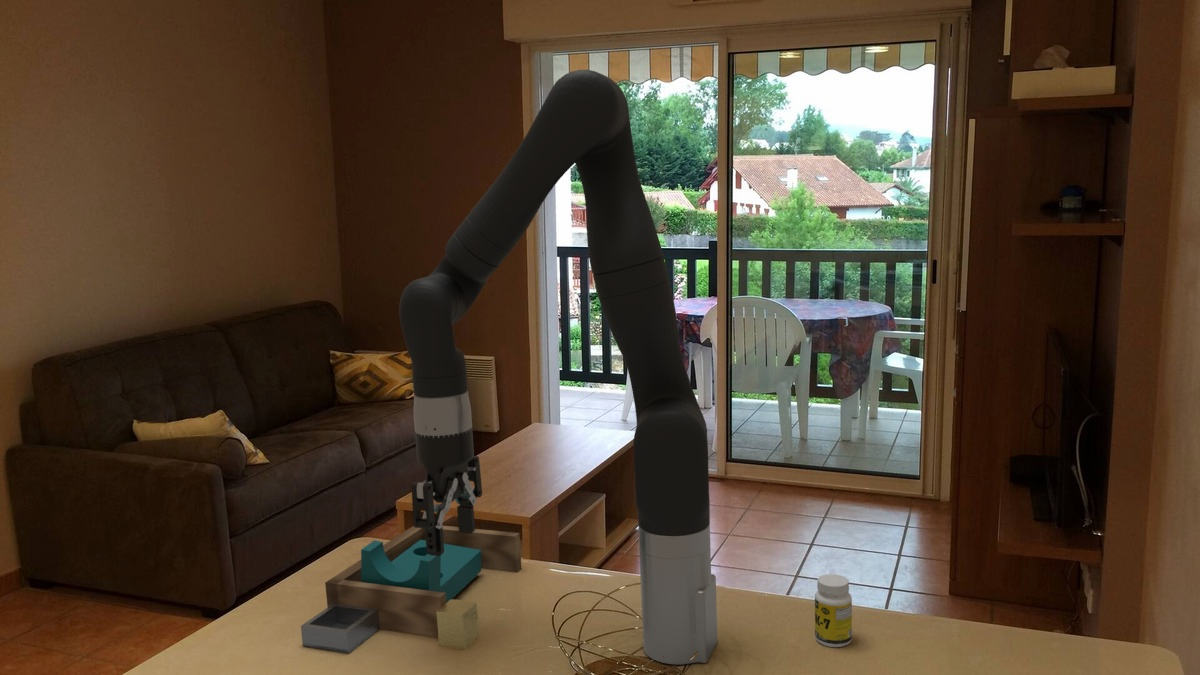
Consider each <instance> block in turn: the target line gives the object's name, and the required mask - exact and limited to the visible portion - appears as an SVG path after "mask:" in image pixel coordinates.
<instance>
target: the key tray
mask: <svg viewBox="0 0 1200 675" xmlns="http://www.w3.org/2000/svg"><path fill="white" fill-rule="evenodd" d="M300 630H301V632H300V633H301V642H302V647H304V648H310V649H317V650H322V651H329V652H330V651H331V652H336V653H343V654H350V653H351V652H353V651H354V650H355V649H356V648H358V647H359V646H360V645H362V643H364V642H366V641H367V640H368V639H370V637H372V636H373V635H374V634H376V633H377V632H378V631H380V630H381V629H380V622H379V610H378V609H374V608H367V607H359V606H352V605H345V604H337V603H334V604H332V605H331V606H329V607H326V608H325V609H323V610H322V611H320V612H319V613H318V614H316V615H314V616H313V617H311V618H310V619H309V620H307V621H305V622H304V623H303V624H301V625H300Z"/></svg>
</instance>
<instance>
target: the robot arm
mask: <svg viewBox="0 0 1200 675" xmlns="http://www.w3.org/2000/svg"><path fill="white" fill-rule="evenodd" d="M630 118H631V117H630V111H629V104H628V101H627V97H626V95H625V93H624V92H623V90H622V88H621V87H620V86H619V84H617V82H615V80H613V79H612V78H610V77H609V76H607V75H605V74H603V73H600V72H598V71H595V70H590V69H577V70H572V71H569V72H568V73H566V74H564V75H563V76H561V77H559V79H558V80H557V81H556V82H554V84H553V85H552V87H551V89H550V91H549V92H548V94H547V96H546V98H545V100H544V102H543V104H542V105H541V107H540V109H539V111H538V113H537V114H536V117H535V118H534V120H533V122H532V124H531V126H530V127H529V129H528V131H527V133H526V135H525V136H524V138H523V139H522V141H521V143H520V145H519V146H518V147H517V149H516V151H515V152H514V154H513V156H512V157H511V159H510V160H509V162H508V163H507V164H506V165H505V167H504V169H503V170H502V171H501V172H500V173H499V175H498V177H497V178H496V179H495V180H494V181H493V182H492V184H491V186H489V188H488V189H487V191H486V192H485V193H484V194H483V195H482V197H481V198H480V199H479V201H477V203H476V204H475V205H474V207H473V208H472V209H471V210H470V211H469V213H468V214H467V216H466V217H465V218H464V220H463V221H462V222H461V223H460V225H458V227H457V228H456V230H455V231H454V232H453V233H452V235H451V236H450V238H449V239H448V241H447V244H446V245H445V248H444V251H445V255H444V256H443V258H442V259H441V260H440V262H439V263H438V265H436V267H435V268H434V270H433V271H432V272H431V273H430V274H429V275H428V276H424V277H421V278H420V277H419V278H417V279H414V280H413V281H411V282H409V283H408V285H406V286H405V288H404V289H403V290H402V293H401V296H400V300H399V308H398V315H399V316H398V317H399V324H400V326H401V327H400V328H401V331H402V335H403V338H404V342H405V347H406V350H407V352H408V355H409V357H410V361H411V369H412V370H411V371H412V372H411V374H412V387H413V411H412V412H413V425H414V435H415V436H414V439H415V450H416V451H415V452H416V460H417V462H418V464H419V465H421V466H422V467H424V468H425V470H426V471H425V478H424V480H423V481H422V482H421V481H420V482H419V481H413V482H412V484H411V501H412V503H411V504H412V520H413V521H412V523H413V524H412V525H413V526H414V527H415V528H424V529H425V537H426V549H427V553H428V554H429V555H434V556H440V555H442V554H443V553H444V541H443V527H442V526H443V523H444V518H445V515H446V513H449V511H450V508H451V506H452V505H451V504H452V503H453V502H454V501H455V502H456V503H457V505H458V506H457V507H456V511H457V523H458V526H457V527H459V531H460V532H461V533H469V534H471V533H472V532H474V531H475V529H476V525H475V511H474V510H475V509H474V506H476V505H477V504H476V503H477V498H481V497H482V496H483V486H482V477H481V476H482V475H481V465H480V457H479V456H477V455H475V449H474V434H473V421H472V420H473V419H472V418H473V417H472V407H471V402H470V397H469V391H468V389H469V388H468V376H467V375H468V374H467V364H466V358H465V354H464V353H463V351H462V350H461V349H459V348H458V347H456V340H455V336H454V330H453V329H454V328H453V325H454V324H456V323H458V321H460V320H461V319H462V318H463V317H464V316H465V314H467V312H468V311H469V310H470V308H471V307H472V306H473V305H474V303H475V301H476V300H477V298H478V297H479V295H480V293H481V291H482V290H483V288H484V286H485V285H486V283H487V281H488V279H489V278H490V276H491V275H493V273H494V272H495V271H496V270H497V269H498V268H499V266H500V265H501V264H502V263H503V261H504V260H505V259H506V258H507V257H508V255H509V254H510V253H511V252H512V251H513V249H514V247H515V246H516V245H517V244H518V243H519V242H520V240H521V239H522V237H523V236H524V235H525V233H526V232H527V230H528V228H529V227H530V225H531V224H532V222H533V220H534V218H535V217H536V214H537V213H538V211H539V210H540V208H541V206H542V204H543V203H544V202H545V200H546V198H547V196H549V194H550V193H551V191H552V190H553V188H554V187H555V185H556V184H557V183H558V182H559V181H560V179H561V178H562V177H563V176H564V175H565V174H566V173H567V172H568V170H569V169H570V168H572V167H573V165H575V166H576V168H577V172H578V175H579V179H580V182H581V187H582V190H583V196H584V203H585V217H586V218H585V220H586V222H585V224H586V225H585V226H586V236H587V237H586V240H587V250H588V251H587V252H588V259H589V265H590V269H591V274H592V278H593V281H594V285H595V289H596V293H597V296H598V299H599V304H600V307H601V310H602V313H603V315H604V318H605V321H606V323H607V325H608V328H609V329H610V332H611V334H612V338H613V339H614V341H615V343H616V346H617V347H618V349H619V352H620V354H621V356H622V358H623V360H624V362H625V366H626V368H627V372H628V376H629V381H630V386H631V391H632V397H633V404H634V409H635V417H636V428H635V431H634V435H633V443H632V444H633V445H632V448H633V449H632V450H633V467H634V468H633V471H634V488H635V505H636V510H637V520H638V523H637V524H638V525H637V526H638V546H639V547H638V550H639V551H638V552H639V573H640V575H639V576H640V595H641V596H640V597H641V598H640V599H641V600H640V601H641V602H640V603H641V621H642V623H641V624H642V640H643V641H642V643H643V644H642V645H643V652H644V653H645V654H646V656H647V657H649V658H650V659H652V660H654V661H656V662H658V663H662V664H668V665H690V664H694V663H702V664H703V663H704V664H705V663H707V662H708V660H710V657H711V655H712V654H713V651H714V650H715V647H716V646H717V644H718V613H717V612H718V610H717V607H718V606H717V605H718V604H717V576H716V575H715V574H714V573H713V574H712V556H711V555H712V554H711V553H712V552H711V523H710V522H711V521H710V520H711V515H710V514H711V513H710V511H711V510H710V509H711V507H710V505H711V504H710V503H711V502H710V475H709V472H710V471H709V468H710V467H709V443H708V429H707V428H708V427H707V422H706V419H705V417H704V414H703V413H702V409H701V407H700V405H699V402H698V400H697V397H696V395H695V392H694V389H693V387H692V386H693V385H692V384H691V381H690V378H689V375H688V371H687V369H686V368H687V367H686V366H685V362H684V360H683V355H682V351H681V344H680V335H679V325H678V320H677V319H678V318H677V312H676V307H675V306H676V305H675V300H674V295H673V289H672V284H671V281H670V276H669V273H668V268H667V263H666V260H665V256H664V252H663V249H662V245H661V242H660V239H659V236H658V232H657V227H656V226H655V225H656V224H655V222H654V219H653V216H652V213H651V209H650V206H649V204H648V201H647V199H646V195H645V193H644V191H643V187H642V184H641V181H640V180H641V179H640V176H639V172H638V166H637V162H636V155H635V150H634V141H633V136H632V128H631V119H630ZM471 482H473V484H474V487H473V485H472V483H471ZM435 502H436V503H435ZM422 511H423V514H422ZM435 512H436V517H435ZM697 651H698V654H697V656H695V658H693V659H692V660H690V659H691V658H692V656H693V655H694V654H695V653H696V652H697ZM663 656H664V657H663Z"/></svg>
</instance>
